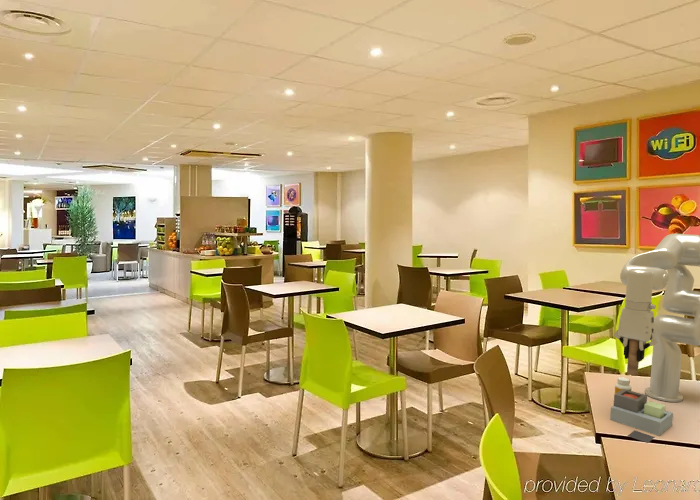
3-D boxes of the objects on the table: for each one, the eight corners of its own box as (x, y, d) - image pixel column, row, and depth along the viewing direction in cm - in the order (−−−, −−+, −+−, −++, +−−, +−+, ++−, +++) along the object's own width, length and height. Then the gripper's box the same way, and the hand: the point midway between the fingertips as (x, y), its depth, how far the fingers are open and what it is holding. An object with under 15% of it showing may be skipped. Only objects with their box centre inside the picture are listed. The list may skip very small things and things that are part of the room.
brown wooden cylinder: (629, 371, 175) (632, 331, 173) (639, 374, 172) (642, 333, 171) (625, 373, 173) (628, 333, 171) (635, 376, 170) (638, 335, 169)
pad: (634, 432, 166) (634, 430, 166) (654, 438, 161) (655, 437, 161) (627, 437, 162) (627, 435, 162) (647, 444, 157) (647, 442, 157)
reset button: (625, 406, 177) (626, 392, 177) (639, 410, 174) (640, 396, 173) (620, 410, 174) (621, 395, 174) (633, 414, 171) (635, 400, 170)
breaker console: (624, 412, 181) (626, 387, 180) (672, 426, 170) (674, 400, 169) (610, 421, 173) (611, 395, 172) (658, 437, 162) (661, 410, 161)
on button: (648, 415, 172) (649, 400, 171) (663, 419, 168) (665, 405, 168) (643, 418, 169) (644, 404, 168) (658, 423, 165) (660, 408, 165)
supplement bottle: (618, 400, 192) (620, 375, 191) (633, 405, 188) (635, 379, 187) (610, 403, 189) (612, 377, 188) (625, 408, 185) (627, 382, 184)
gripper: (669, 308, 166) (664, 363, 168) (616, 300, 179) (612, 351, 181) (661, 311, 161) (656, 368, 163) (607, 303, 174) (603, 355, 176)
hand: (633, 358), depth 172 cm, fingers closed on brown wooden cylinder, 3 cm apart
